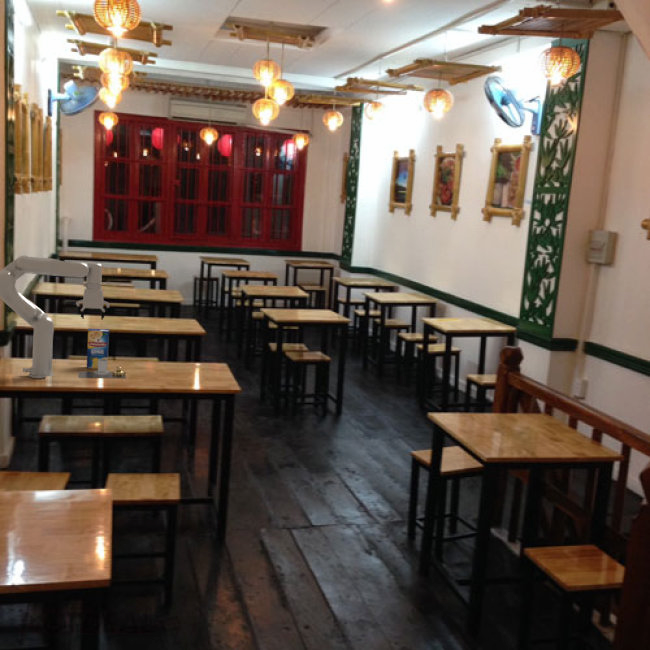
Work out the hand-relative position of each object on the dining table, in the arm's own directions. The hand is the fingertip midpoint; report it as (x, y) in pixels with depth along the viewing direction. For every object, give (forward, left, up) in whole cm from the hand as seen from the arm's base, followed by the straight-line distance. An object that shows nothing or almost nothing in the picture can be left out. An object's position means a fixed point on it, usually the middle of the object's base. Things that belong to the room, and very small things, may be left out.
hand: (92, 318), depth 406 cm
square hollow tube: (+6, -4, -29) cm, 30 cm away
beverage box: (+4, +17, -31) cm, 35 cm away
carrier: (+6, -4, -30) cm, 31 cm away
